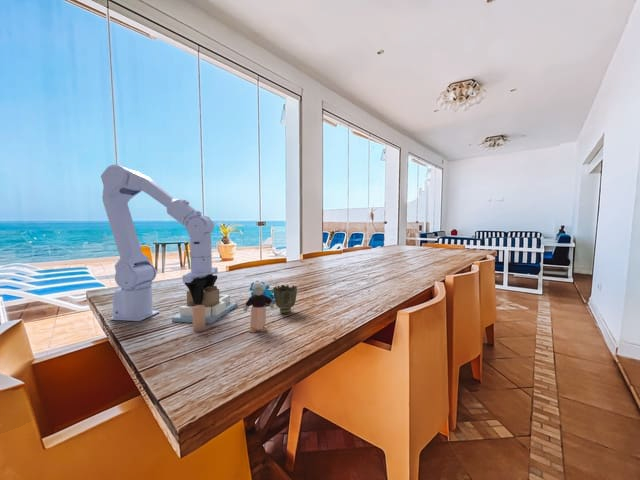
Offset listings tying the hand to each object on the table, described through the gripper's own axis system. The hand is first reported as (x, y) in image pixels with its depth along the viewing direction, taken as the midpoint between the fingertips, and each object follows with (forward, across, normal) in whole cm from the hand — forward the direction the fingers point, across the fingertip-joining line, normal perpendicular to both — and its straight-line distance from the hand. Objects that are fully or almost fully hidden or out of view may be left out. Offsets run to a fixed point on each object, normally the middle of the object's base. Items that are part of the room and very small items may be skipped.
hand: (202, 301), depth 78 cm
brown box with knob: (+2, 0, 0) cm, 3 cm away
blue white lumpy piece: (+5, +15, -14) cm, 21 cm away
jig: (+4, +2, 0) cm, 5 cm away
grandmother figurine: (+5, -8, -21) cm, 23 cm away
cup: (+5, +6, -24) cm, 25 cm away
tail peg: (+4, -10, -5) cm, 12 cm away
